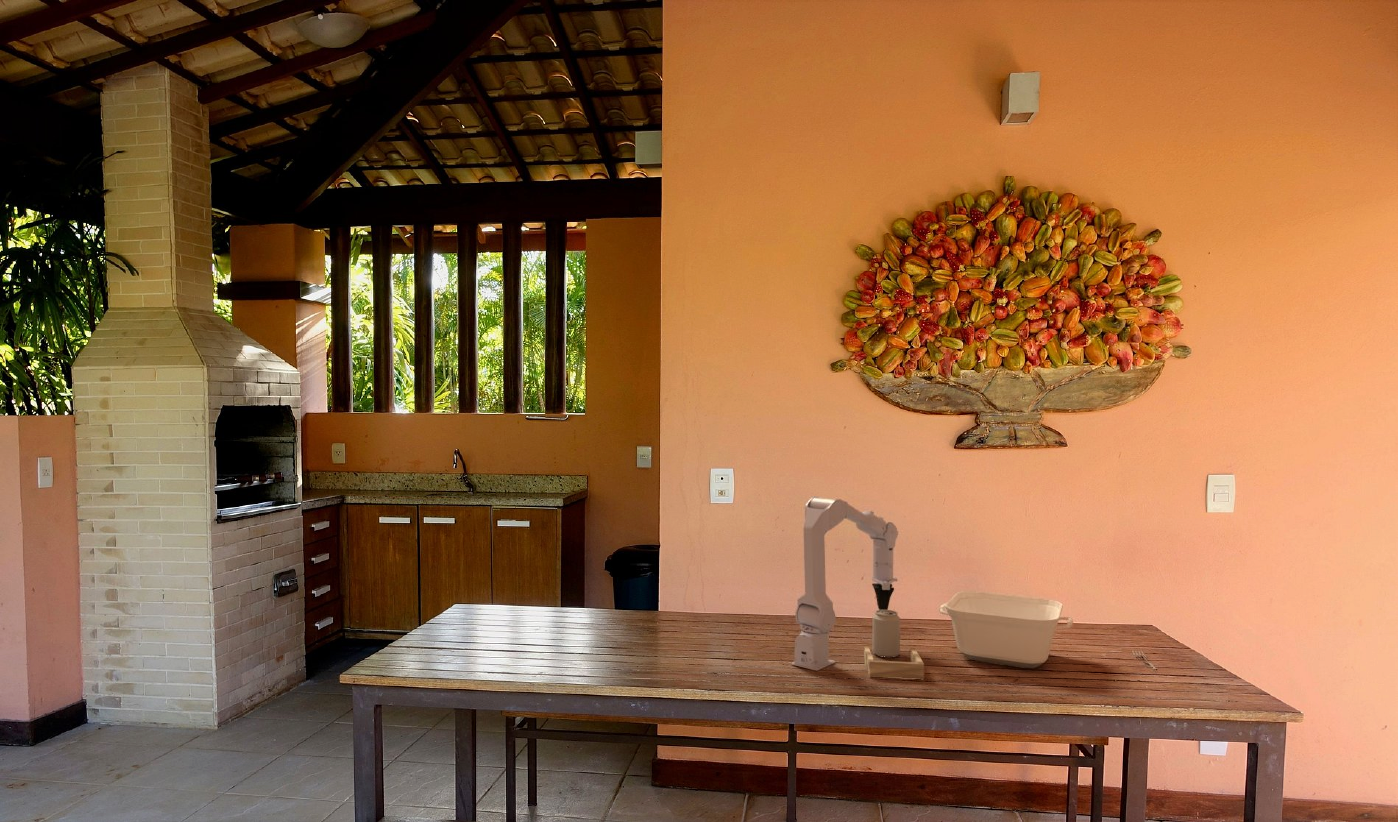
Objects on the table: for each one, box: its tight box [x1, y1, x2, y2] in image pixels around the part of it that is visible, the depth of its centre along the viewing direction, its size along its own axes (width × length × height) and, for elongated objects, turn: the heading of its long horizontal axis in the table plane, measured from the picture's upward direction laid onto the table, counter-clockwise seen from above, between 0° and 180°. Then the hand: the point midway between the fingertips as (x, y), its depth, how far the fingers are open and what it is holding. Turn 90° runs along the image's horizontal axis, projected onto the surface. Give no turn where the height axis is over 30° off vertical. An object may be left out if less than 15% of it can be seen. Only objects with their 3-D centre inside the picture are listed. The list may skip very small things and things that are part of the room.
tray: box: [863, 645, 925, 680], centre depth 203 cm, size 14×13×4 cm
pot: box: [939, 590, 1074, 669], centre depth 215 cm, size 34×29×15 cm
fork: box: [1132, 649, 1157, 670], centre depth 207 cm, size 3×24×2 cm, turn 168°
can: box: [871, 609, 901, 657], centre depth 216 cm, size 8×8×12 cm
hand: (882, 610), depth 225 cm, fingers open, 2 cm apart
